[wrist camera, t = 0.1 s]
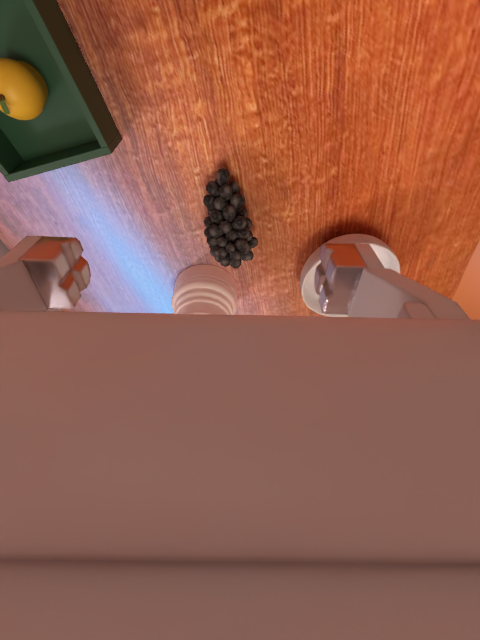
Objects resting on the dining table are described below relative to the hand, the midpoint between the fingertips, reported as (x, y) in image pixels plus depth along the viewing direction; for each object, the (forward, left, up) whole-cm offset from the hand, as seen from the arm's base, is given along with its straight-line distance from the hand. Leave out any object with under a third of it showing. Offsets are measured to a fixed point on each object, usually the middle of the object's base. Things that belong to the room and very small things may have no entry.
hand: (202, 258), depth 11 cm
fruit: (+19, 0, -39) cm, 43 cm away
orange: (+3, -25, -38) cm, 45 cm away
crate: (+3, -25, -39) cm, 46 cm away
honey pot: (+37, -5, -39) cm, 54 cm away
